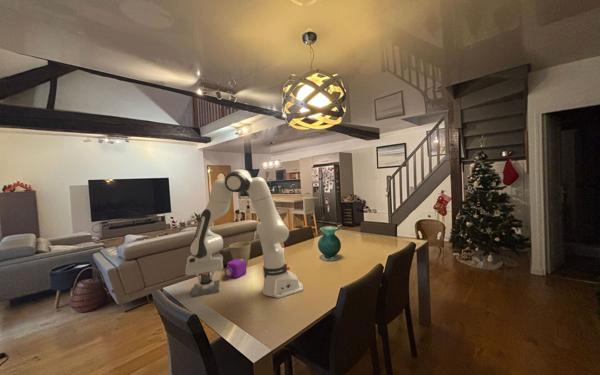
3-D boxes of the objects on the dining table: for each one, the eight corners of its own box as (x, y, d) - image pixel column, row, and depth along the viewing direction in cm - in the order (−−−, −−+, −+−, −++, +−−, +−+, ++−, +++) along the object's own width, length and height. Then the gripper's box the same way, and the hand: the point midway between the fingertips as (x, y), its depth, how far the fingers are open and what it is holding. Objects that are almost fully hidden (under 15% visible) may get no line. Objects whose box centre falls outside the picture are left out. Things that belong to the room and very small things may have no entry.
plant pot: (248, 261, 186) (246, 240, 186) (255, 266, 174) (253, 244, 173) (228, 265, 179) (227, 244, 178) (234, 271, 166) (232, 248, 165)
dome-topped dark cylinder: (210, 283, 144) (209, 270, 143) (210, 286, 139) (209, 273, 139) (201, 285, 142) (201, 271, 142) (201, 288, 138) (200, 274, 137)
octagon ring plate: (219, 282, 150) (218, 275, 150) (218, 292, 136) (218, 284, 136) (194, 286, 146) (194, 279, 145) (191, 297, 132) (191, 289, 132)
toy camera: (221, 279, 154) (220, 264, 154) (234, 271, 167) (233, 257, 166) (236, 281, 150) (235, 265, 150) (248, 272, 163) (247, 258, 163)
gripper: (222, 252, 146) (224, 274, 147) (185, 257, 140) (187, 280, 141) (222, 255, 140) (224, 278, 141) (183, 260, 134) (185, 285, 135)
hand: (205, 279), depth 141 cm, fingers closed on dome-topped dark cylinder, 4 cm apart
